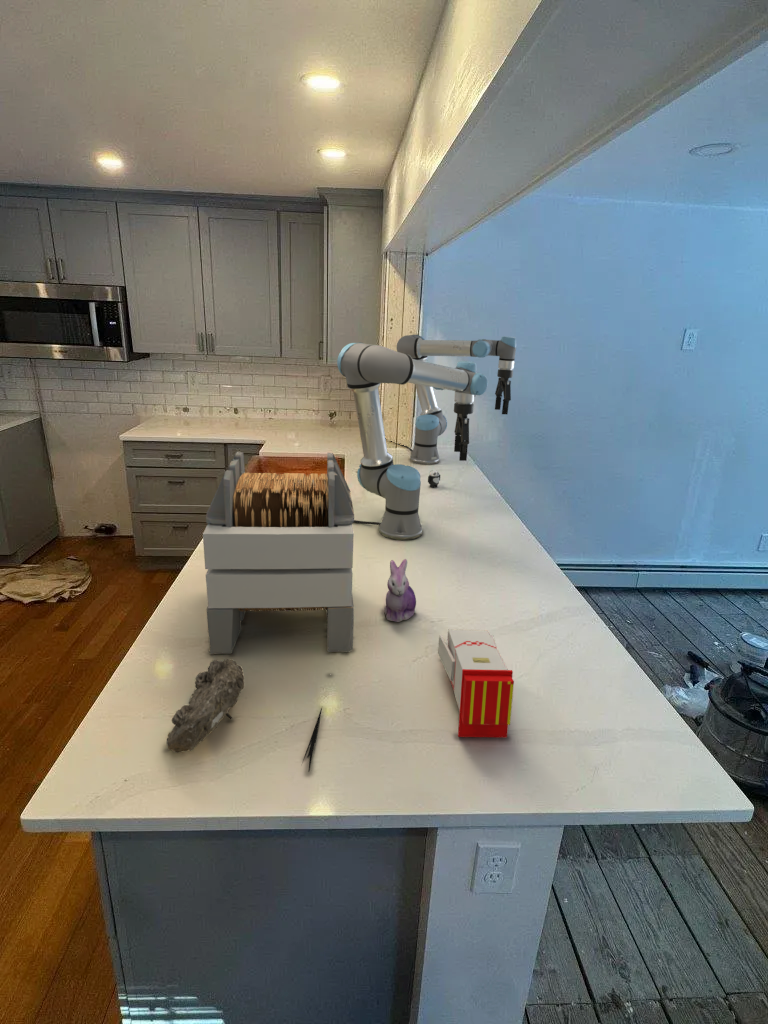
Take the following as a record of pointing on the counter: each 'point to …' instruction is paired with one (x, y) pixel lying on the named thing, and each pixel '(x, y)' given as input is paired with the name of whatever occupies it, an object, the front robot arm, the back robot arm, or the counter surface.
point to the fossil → (206, 705)
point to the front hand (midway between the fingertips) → (460, 456)
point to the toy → (478, 682)
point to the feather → (313, 740)
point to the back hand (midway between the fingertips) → (500, 411)
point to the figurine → (399, 594)
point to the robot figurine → (434, 478)
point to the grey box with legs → (279, 550)
